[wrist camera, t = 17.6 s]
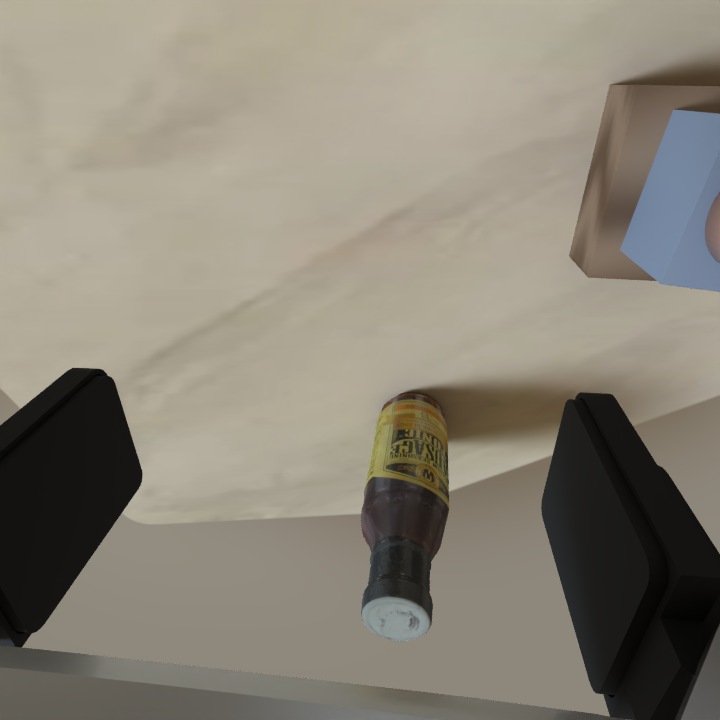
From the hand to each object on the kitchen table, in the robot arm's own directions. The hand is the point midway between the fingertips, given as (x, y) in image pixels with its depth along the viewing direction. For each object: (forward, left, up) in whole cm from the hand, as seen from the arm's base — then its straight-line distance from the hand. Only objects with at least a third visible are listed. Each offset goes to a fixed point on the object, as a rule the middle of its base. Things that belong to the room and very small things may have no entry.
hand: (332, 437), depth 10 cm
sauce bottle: (+20, +2, -28) cm, 35 cm away
